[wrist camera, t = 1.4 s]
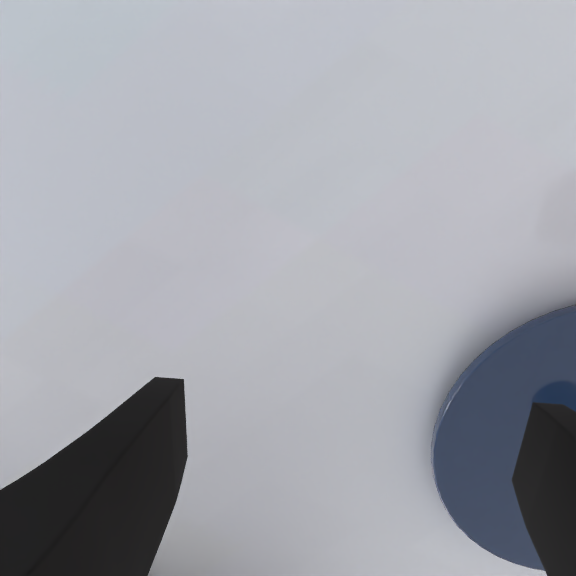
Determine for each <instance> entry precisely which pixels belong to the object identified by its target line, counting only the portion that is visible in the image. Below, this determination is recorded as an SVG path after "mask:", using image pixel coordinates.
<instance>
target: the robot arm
mask: <svg viewBox="0 0 576 576" xmlns="http://www.w3.org/2000/svg"><path fill="white" fill-rule="evenodd" d="M187 457H188V455H187V435H186V414H185V394H184V379H175V378H160V377H155V378H154V379H152V380H151V381H150V382H148V383H147V384H146V385H145V386H143V387H142V388H141V389H140V390H139V391H137V392H136V393H135V394H134V395H132V396H131V397H130V398H129V399H128V400H126V401H125V402H124V403H123V404H121V405H120V406H119V407H118V408H117V409H115V410H114V411H113V412H112V413H110V414H109V415H108V416H107V417H105V418H104V419H103V420H101V421H100V422H99V423H98V424H96V425H95V426H94V427H93V428H91V429H90V430H89V431H87V432H86V433H85V434H83V435H82V436H81V437H79V438H78V439H76V440H75V441H74V442H72V443H71V444H69V445H68V446H67V447H65V448H64V449H62V450H61V451H60V452H58V453H57V454H55V455H54V456H53V457H51V458H50V459H48V460H47V461H46V462H44V463H43V464H41V465H40V466H38V467H37V468H35V469H34V470H32V471H30V472H29V473H27V474H26V475H24V476H23V477H21V478H19V479H18V480H16V481H15V482H13V483H11V484H10V485H8V486H6V487H5V488H3V489H1V490H0V576H148V573H149V571H150V568H151V565H152V563H153V560H154V558H155V555H156V553H157V550H158V547H159V545H160V542H161V540H162V537H163V535H164V532H165V529H166V527H167V524H168V522H169V519H170V516H171V514H172V511H173V509H174V506H175V503H176V500H177V496H178V493H179V489H180V485H181V481H182V477H183V473H184V469H185V465H186V461H187ZM512 483H513V487H514V490H515V494H516V497H517V501H518V504H519V507H520V511H521V514H522V517H523V520H524V523H525V526H526V529H527V531H528V533H529V536H530V538H531V540H532V543H533V545H534V547H535V549H536V551H537V554H538V556H539V558H540V560H541V563H542V565H543V567H544V569H545V571H546V574H547V576H576V412H575V411H574V410H572V409H570V408H569V407H567V406H565V405H564V404H551V403H536V402H533V403H532V407H531V411H530V414H529V418H528V422H527V425H526V429H525V433H524V436H523V440H522V444H521V447H520V451H519V455H518V458H517V462H516V466H515V469H514V473H513V477H512Z"/></svg>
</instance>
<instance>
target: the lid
mask: <svg viewBox="0 0 576 576" xmlns="http://www.w3.org/2000/svg"><path fill="white" fill-rule="evenodd" d="M533 402H536V403H551V404H564V405H565V406H567V407H569V408H570V409H572V410H574V411H575V412H576V305H573V306H570V307H566V308H563V309H559V310H556V311H553V312H550V313H548V314H545V315H543V316H541V317H538V318H536V319H533V320H531V321H529V322H527V323H525V324H523V325H522V326H520V327H518V328H516V329H514V330H512V331H511V332H509V333H508V334H506V335H505V336H503V337H502V338H500V339H499V340H498V341H496V342H495V343H493V344H492V345H491V346H489V347H488V348H487V349H486V350H485V351H484V352H483V353H481V354H480V355H479V356H478V357H477V358H476V359H475V360H474V361H473V362H472V363H471V364H470V365H469V366H468V367H467V369H466V370H465V371H464V372H463V373H462V374H461V375H460V377H459V378H458V380H457V381H456V383H455V384H454V385H453V387H452V388H451V390H450V391H449V393H448V395H447V397H446V399H445V401H444V403H443V405H442V407H441V409H440V412H439V415H438V418H437V420H436V423H435V426H434V432H433V437H432V443H431V464H432V471H433V477H434V480H435V484H436V487H437V490H438V493H439V496H440V499H441V501H442V503H443V505H444V507H445V509H446V511H447V513H448V514H449V515H450V517H451V518H452V519H453V521H454V522H455V524H456V525H457V526H458V527H459V528H460V529H461V530H462V531H463V532H464V533H465V534H466V535H467V536H468V537H469V538H470V539H471V540H473V541H474V542H475V543H477V544H478V545H479V546H481V547H482V548H484V549H485V550H487V551H489V552H491V553H492V554H494V555H496V556H498V557H500V558H502V559H505V560H507V561H510V562H512V563H515V564H518V565H522V566H525V567H528V568H532V569H538V570H543V571H545V569H544V567H543V565H542V563H541V560H540V558H539V556H538V554H537V551H536V549H535V547H534V545H533V543H532V540H531V538H530V536H529V533H528V531H527V529H526V526H525V523H524V520H523V517H522V514H521V511H520V507H519V504H518V501H517V497H516V494H515V490H514V487H513V483H512V477H513V473H514V469H515V466H516V462H517V458H518V455H519V451H520V447H521V444H522V440H523V436H524V433H525V429H526V425H527V422H528V418H529V414H530V411H531V407H532V403H533Z"/></svg>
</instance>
